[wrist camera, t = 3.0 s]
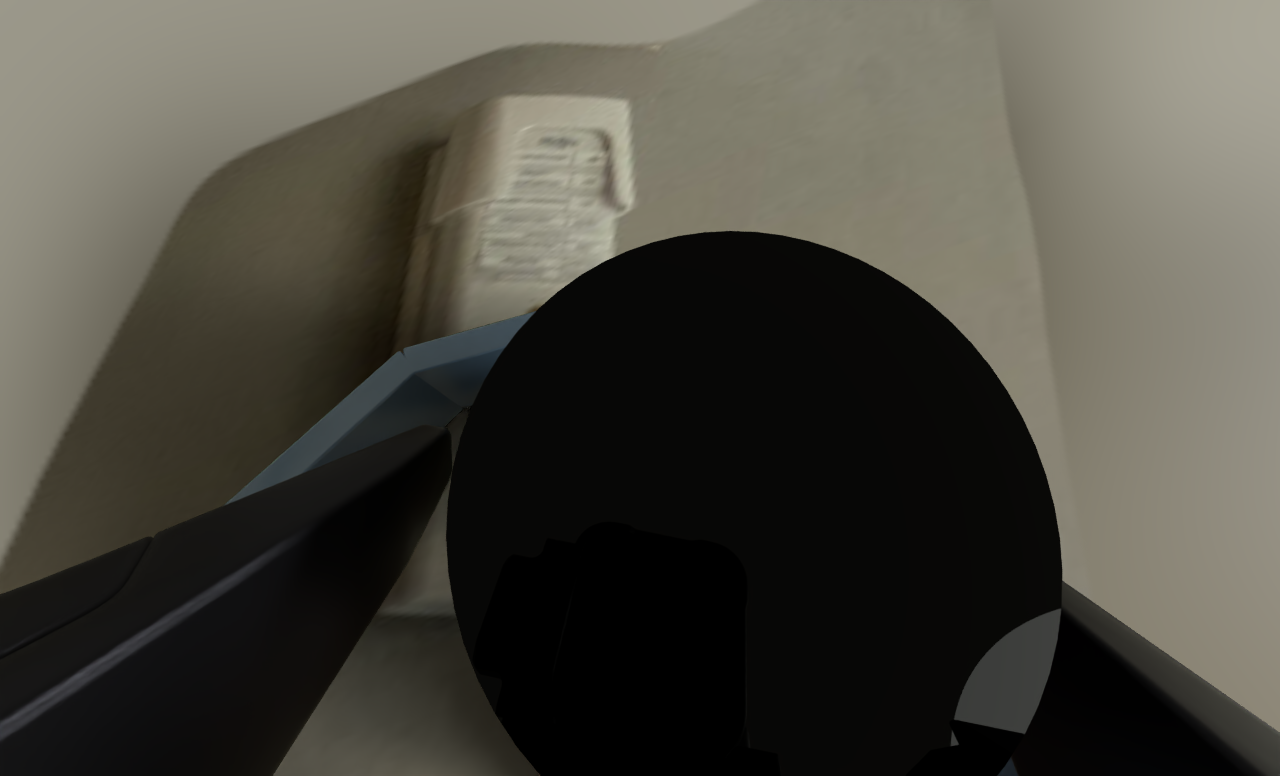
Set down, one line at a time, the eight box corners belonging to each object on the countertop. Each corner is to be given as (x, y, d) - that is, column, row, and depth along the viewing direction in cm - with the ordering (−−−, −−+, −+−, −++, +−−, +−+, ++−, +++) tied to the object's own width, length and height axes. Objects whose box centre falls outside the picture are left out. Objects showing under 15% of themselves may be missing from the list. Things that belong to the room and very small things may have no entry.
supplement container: (629, 671, 14) (670, 1101, 4) (522, 477, 15) (337, 394, 5) (803, 544, 15) (1193, 599, 5) (690, 377, 16) (812, 151, 6)
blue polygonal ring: (998, 1319, 10) (1225, 1793, 6) (78, 1129, 10) (-237, 1487, 7) (979, 417, 16) (1090, 386, 13) (399, 299, 16) (334, 233, 13)
